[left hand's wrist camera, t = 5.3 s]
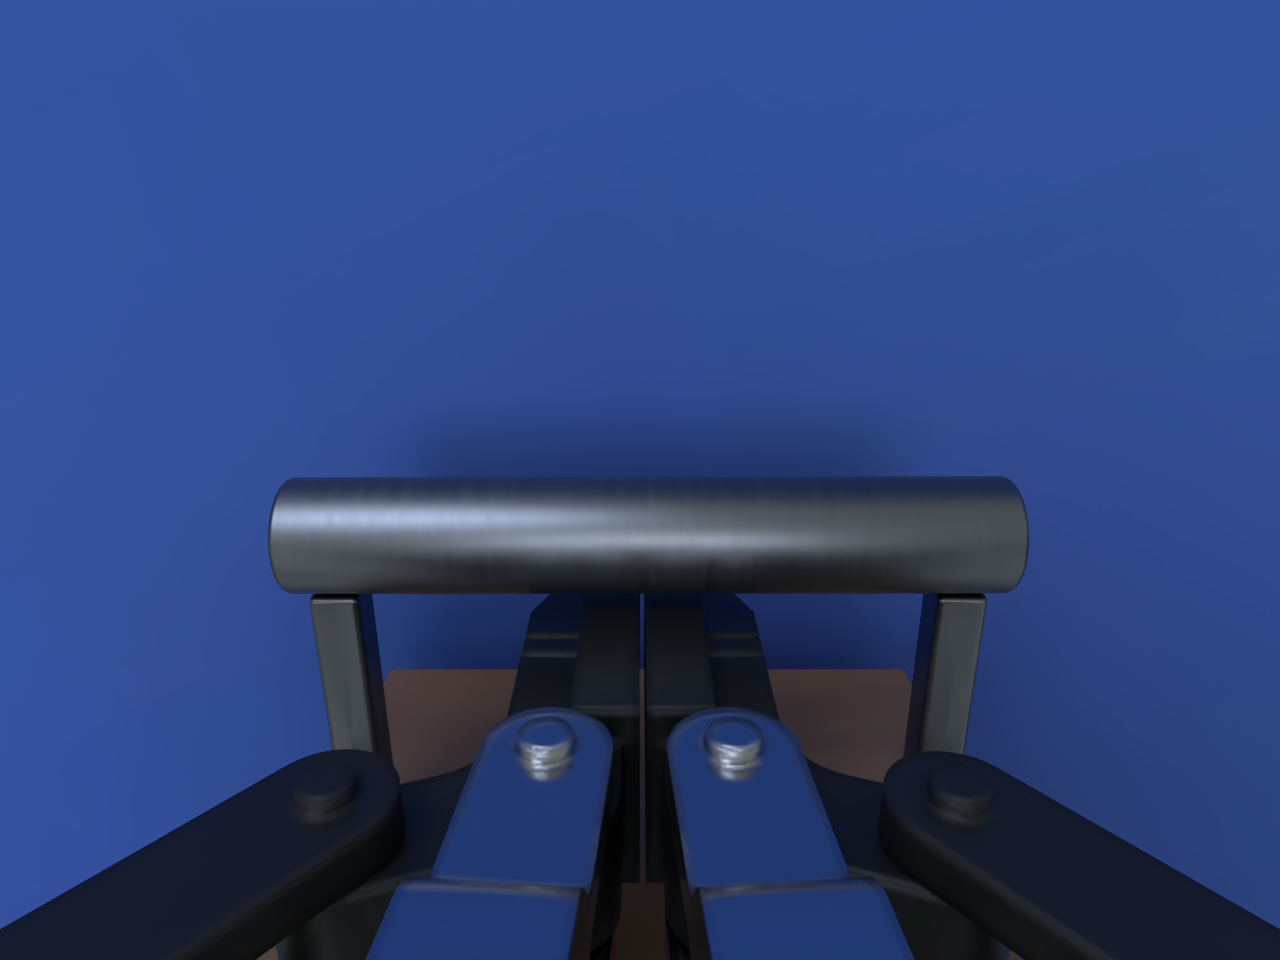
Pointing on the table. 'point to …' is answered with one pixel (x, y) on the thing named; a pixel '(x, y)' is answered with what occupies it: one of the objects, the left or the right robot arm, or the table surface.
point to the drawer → (648, 563)
